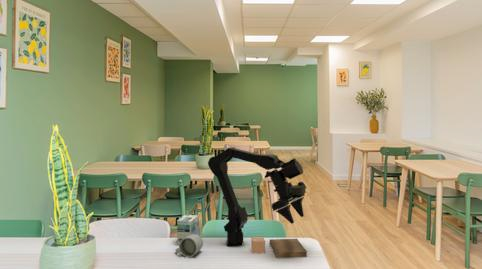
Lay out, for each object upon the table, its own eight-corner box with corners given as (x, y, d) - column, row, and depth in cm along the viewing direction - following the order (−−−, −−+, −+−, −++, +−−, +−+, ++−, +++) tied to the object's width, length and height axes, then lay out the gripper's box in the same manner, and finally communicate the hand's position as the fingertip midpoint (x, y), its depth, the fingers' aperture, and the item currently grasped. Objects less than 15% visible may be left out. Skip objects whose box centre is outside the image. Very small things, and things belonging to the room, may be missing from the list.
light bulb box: (191, 246, 155) (191, 221, 155) (176, 245, 157) (176, 220, 156) (199, 238, 166) (199, 214, 166) (185, 237, 167) (185, 214, 167)
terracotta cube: (252, 253, 146) (252, 241, 146) (251, 249, 151) (251, 237, 151) (265, 253, 147) (265, 241, 146) (263, 249, 152) (263, 237, 151)
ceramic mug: (204, 251, 149) (204, 232, 149) (197, 258, 142) (196, 238, 141) (180, 249, 152) (180, 231, 152) (171, 256, 144) (171, 236, 144)
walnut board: (276, 257, 141) (276, 252, 141) (269, 244, 157) (269, 239, 157) (306, 256, 142) (306, 251, 142) (296, 243, 158) (296, 238, 158)
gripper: (286, 180, 136) (305, 220, 133) (306, 172, 151) (323, 207, 148) (263, 191, 141) (281, 229, 139) (285, 182, 157) (301, 215, 154)
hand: (297, 219), depth 145 cm, fingers open, 9 cm apart
